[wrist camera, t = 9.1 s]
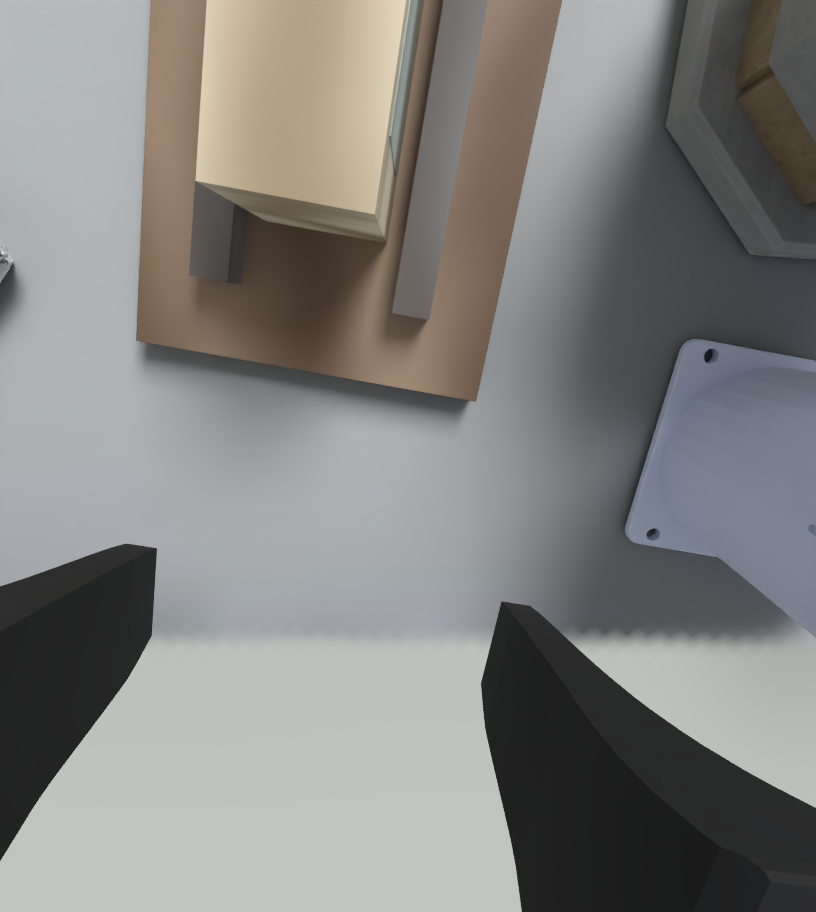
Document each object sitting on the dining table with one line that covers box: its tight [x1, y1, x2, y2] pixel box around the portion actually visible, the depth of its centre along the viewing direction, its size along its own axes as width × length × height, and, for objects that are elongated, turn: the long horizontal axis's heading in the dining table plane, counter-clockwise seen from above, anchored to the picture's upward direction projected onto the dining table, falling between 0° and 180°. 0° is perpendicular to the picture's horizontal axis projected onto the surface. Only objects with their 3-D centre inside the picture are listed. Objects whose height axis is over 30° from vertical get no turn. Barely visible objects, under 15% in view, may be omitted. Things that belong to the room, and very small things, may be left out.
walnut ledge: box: [136, 0, 562, 402], centre depth 16 cm, size 12×21×3 cm, turn 170°
